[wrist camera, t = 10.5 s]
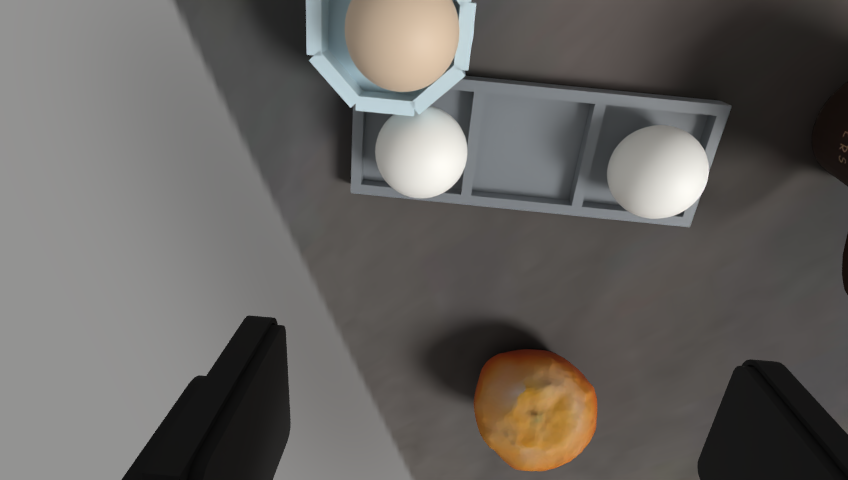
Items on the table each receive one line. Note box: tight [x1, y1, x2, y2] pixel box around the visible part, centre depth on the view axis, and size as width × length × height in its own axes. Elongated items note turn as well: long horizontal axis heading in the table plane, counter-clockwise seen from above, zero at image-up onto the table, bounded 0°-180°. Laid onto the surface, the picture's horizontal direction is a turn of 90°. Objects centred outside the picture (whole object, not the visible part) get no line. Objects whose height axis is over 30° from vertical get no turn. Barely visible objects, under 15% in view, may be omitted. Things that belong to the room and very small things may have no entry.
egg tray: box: [351, 76, 732, 227], centre depth 30 cm, size 7×20×1 cm, turn 85°
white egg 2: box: [607, 125, 709, 219], centre depth 28 cm, size 5×5×5 cm
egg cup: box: [306, 0, 476, 116], centre depth 26 cm, size 8×8×5 cm
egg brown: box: [345, 0, 460, 92], centre depth 23 cm, size 5×5×5 cm
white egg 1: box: [375, 106, 467, 198], centre depth 28 cm, size 5×5×5 cm
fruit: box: [474, 349, 597, 471], centre depth 36 cm, size 8×8×8 cm
